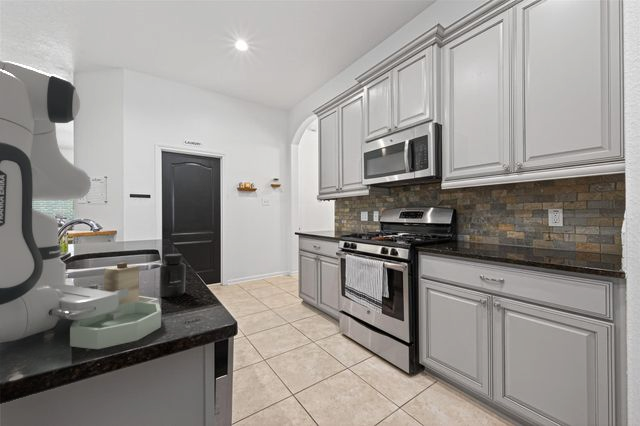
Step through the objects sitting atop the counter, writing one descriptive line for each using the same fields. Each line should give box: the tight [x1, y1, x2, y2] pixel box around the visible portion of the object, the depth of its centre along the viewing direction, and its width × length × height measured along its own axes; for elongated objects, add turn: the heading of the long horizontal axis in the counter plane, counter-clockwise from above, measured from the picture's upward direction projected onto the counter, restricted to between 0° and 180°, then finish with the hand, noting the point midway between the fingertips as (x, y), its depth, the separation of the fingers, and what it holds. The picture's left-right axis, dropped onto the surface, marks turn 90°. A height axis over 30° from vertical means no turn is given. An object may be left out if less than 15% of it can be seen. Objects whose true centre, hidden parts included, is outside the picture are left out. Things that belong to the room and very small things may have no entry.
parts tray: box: [109, 295, 160, 319], centre depth 66 cm, size 11×11×2 cm
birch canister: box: [103, 262, 140, 304], centre depth 66 cm, size 5×5×12 cm
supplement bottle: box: [158, 253, 186, 299], centre depth 79 cm, size 7×7×12 cm
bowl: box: [69, 301, 162, 350], centre depth 55 cm, size 14×14×4 cm
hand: (112, 289), depth 64 cm, fingers open, 8 cm apart
